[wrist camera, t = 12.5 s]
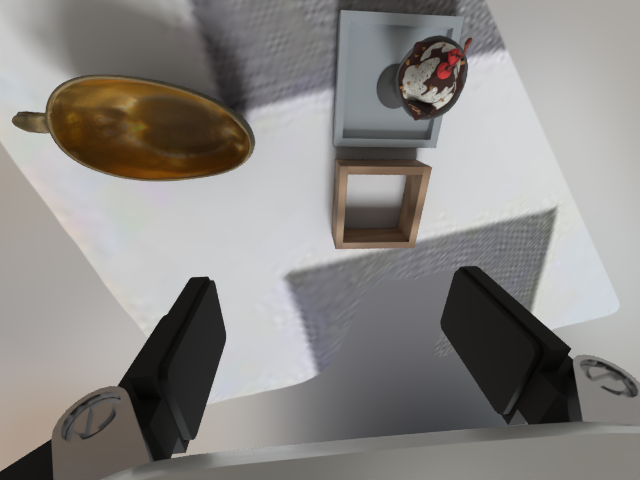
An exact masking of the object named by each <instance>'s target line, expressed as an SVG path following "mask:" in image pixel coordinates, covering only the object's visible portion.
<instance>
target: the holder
mask: <svg viewBox="0 0 640 480" xmlns="http://www.w3.org/2000/svg"><path fill="white" fill-rule="evenodd" d="M431 169H432V167H430V166H428V165H426V164H424V163H422V162H420V161H417V160H369V159H335V179H334V199H333V219H332V237H333V241H334V245H335V249H370V248H414V247H415V242H416V237H417V233H418V228H419V224H420V219H421V215H422V210H423V206H424V201H425V196H426V192H427V187H428V183H429V178H430V174H431ZM348 174H365V175H407V179H406V184H405V190H404V195H403V201H402V207H401V212H400V218H399V223H398V228H347V229H344V219H345V206H346V192H347V178H348Z"/></svg>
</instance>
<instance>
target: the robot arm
mask: <svg viewBox="0 0 640 480" xmlns="http://www.w3.org/2000/svg"><path fill="white" fill-rule="evenodd" d="M441 328H442V330H443V332H444V333H445V335H446V336H447V338H448V340H449V341H450V343H451V344H452V346H453V347H454V349H455V350H456V352H457V353H458V355H459V356H460V358H461V359H462V361H463V363H464V364H465V366H466V367H467V369H468V370H469V372H470V373H471V375H472V376H473V378H474V379H475V381H476V382H477V384H478V386H479V387H480V388H481V390H482V392H483V393H484V395H485V396H486V398H487V399H488V401H489V402H490V404H491V405H492V407H493V408H494V410H495V411H496V412H497V413H498V414H501V415H502V417H503V418H504V419H505V421H506V423H507V424H508V425H517V424H524V423H525V422H526V421H527V423H528V424H529V425H519V426H506V427H495V428H494V427H493V428H481V429H469V430H457V431H445V432H432V433H420V434H408V435H396V436H385V437H374V438H363V439H351V440H339V441H328V442H318V443H306V444H295V445H284V446H273V447H262V448H251V449H242V450H234V451H224V452H215V453H206V454H197V455H189V456H183V457H178V458H171V456H172V454H176V453H186V450H187V447H188V444H189V441H190V440H193V439H195V437H196V435H197V432H198V429H199V426H200V423H201V419H202V416H203V413H204V410H205V407H206V403H207V400H208V397H209V394H210V391H211V387H212V384H213V381H214V378H215V374H216V371H217V368H218V365H219V361H220V358H221V355H222V352H223V349H224V345H225V342H226V331H225V326H224V322H223V317H222V313H221V308H220V303H219V299H218V294H217V290H216V285H215V282H214V281H213V280H210V279H209V277H192V278H190V279H189V281H188V283H187V284H186V286H185V287H184V289H183V291H182V292H181V294H180V295H179V297H178V298H177V300H176V302H175V303H174V305H173V306H172V308H171V309H170V311H169V313H168V314H167V315H165V316H163V317H162V319H161V320H160V321H159V323H158V324H157V326H156V328H155V329H154V331H153V332H152V334H151V335H150V337H149V338H148V340H147V341H146V343H145V345H144V346H143V348H142V349H141V351H140V352H139V354H138V355H137V357H136V358H135V360H134V361H133V363H132V365H131V366H130V368H129V369H128V371H127V372H126V374H125V375H124V377H123V378H122V380H121V381H120V383H119V385H118V386H116V387H115V386H109V387H105V388H101V389H98V390H96V391H94V392H91V393H90V394H88V395H86V396H84V397H83V398H81V399H80V400H78V401H77V402H76V403H74V404H73V405H72V406H71V407H70V408H69V409H68V410H66V412H65V413H64V414H63V415H62V416H61V418H60V419H59V420H58V422H57V424H56V426H55V427H54V429H53V433H52V439H51V440H49V441H48V442H46V443H45V444H43V445H42V446H40V447H38V448H37V449H35V450H33V451H32V452H30V453H29V454H27V455H26V456H24V457H22V458H21V459H19V460H18V461H16V462H15V463H13V464H11V465H10V466H8V467H7V468H5V469H4V470H2V471H1V472H0V480H640V383H639V382H638V381H637V380H636V379H635V378H634V377H633V376H632V375H630V374H629V373H628V372H626V371H625V370H623V369H622V368H620V367H618V366H617V365H615V364H613V363H611V362H609V361H606V360H604V359H601V358H598V357H595V356H590V355H579V356H576V357H575V358H574V359H572V358H571V357H569V356H568V353H569V352H570V350H571V348H570V347H569V346H568V345H567V344H565V343H564V342H563V341H562V340H561V339H560V338H559V337H557V336H556V335H555V334H554V333H553V332H552V331H551V330H550V329H548V328H547V327H546V326H545V325H544V324H543V323H542V322H540V321H539V320H538V319H537V318H536V317H535V316H534V315H532V314H531V313H530V312H529V311H528V310H527V309H526V308H524V307H523V306H522V305H521V304H520V303H519V302H518V301H516V300H515V299H514V298H513V297H512V296H511V295H510V294H509V293H507V292H506V291H505V290H504V289H503V288H502V287H501V286H499V285H498V284H497V283H496V282H495V281H494V280H493V279H491V278H490V277H489V276H488V275H487V274H486V273H485V272H483V271H482V270H481V269H480V268H479V267H477V266H465V267H460V268H459V269H458V270H457V271H456V272H455V273H454V276H453V280H452V283H451V287H450V290H449V294H448V297H447V301H446V304H445V308H444V311H443V315H442V318H441Z"/></svg>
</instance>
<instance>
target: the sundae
mask: <svg viewBox="0 0 640 480" xmlns="http://www.w3.org/2000/svg"><path fill="white" fill-rule="evenodd" d="M471 41H472V38H468V39H467V41H466V43H465V47H464V51H463V49H462V48H461V47H460V45H459V44H458V43H457V42H455V41H454V40H452V39H450V38H448V37H445V36H441V35H438V36H432V37H428V38H426V39H424V40H422V41H418V42H416V43H415V44H414V46H413V48H412V49H411V50H410V51H409V52H408V53H407V54H406V56H405V57H404V58H403V60H402V61H401V63H399V64H392V65H391V66H389V67H387V68H386V69H385V70H384V71H383V72H382V74H381V75H380V77H379V79H378V83H377V96H378V98H379V101H380V102H381V103H382V104H383V105H384V106H385V107H387V108H390V109H396V108H400V107H403V109H404V110H405V112H406V113H407V114H408V115H409V116H411V117H412V118H413V119H414V120H415V121H417V120H429V119H434V118H437V117H439V116H441V115H443V114H444V113H446V112H447V111H449V110H450V109H451V108H452V106H453V105H454V104H455V103H456V101H457V100H458V98H459V96H460V94H461V92H462V90H463V87H464V85H465V82H466V77H467V71H468V64H467V58H466V55H465V52H466V49H468V45H469V44H470V43H471Z"/></svg>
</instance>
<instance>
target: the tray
mask: <svg viewBox="0 0 640 480" xmlns="http://www.w3.org/2000/svg"><path fill="white" fill-rule="evenodd" d="M463 21H464V17H455V16H437V15H420V14H402V13H384V12H367V11H349V10H341V11H340V13H339V16H338V37H337V59H336V82H335V104H334V127H333V145H334V146H345V147H409V148H436V144H437V140H438V135H439V131H440V126H441V121H442V117H443V115H441V116H439V117H437V118H434V119H429V120H417V121H415V120H414V119H413V118H412V117H411V116H409V115H408V114H407V113H406V112H405V110H404V109H403V107H400V108H396V109H390V108H387V107H385V106H384V105H383V104H382V103H381V102H380V101H379V98H378V96H377V83H378V79H379V77H380V75H381V74H382V72H383V71H384V70H385V69H386V68H387V67H389V66H391V65H392V64H399V63H401V61H402V60H403V58H404V57H405V56H406V54H407V53H408V52H409V51H410V50H411V49H412V48H413V46H414V44H415V43H416V42H418V41H422V40H424V39H426V38H428V37H432V36H438V35H441V36H445V37H448V38H450V39H452V40H454V41H455V42H457V43H458V44H459V39H460V35H461V30H462V25H463Z"/></svg>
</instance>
